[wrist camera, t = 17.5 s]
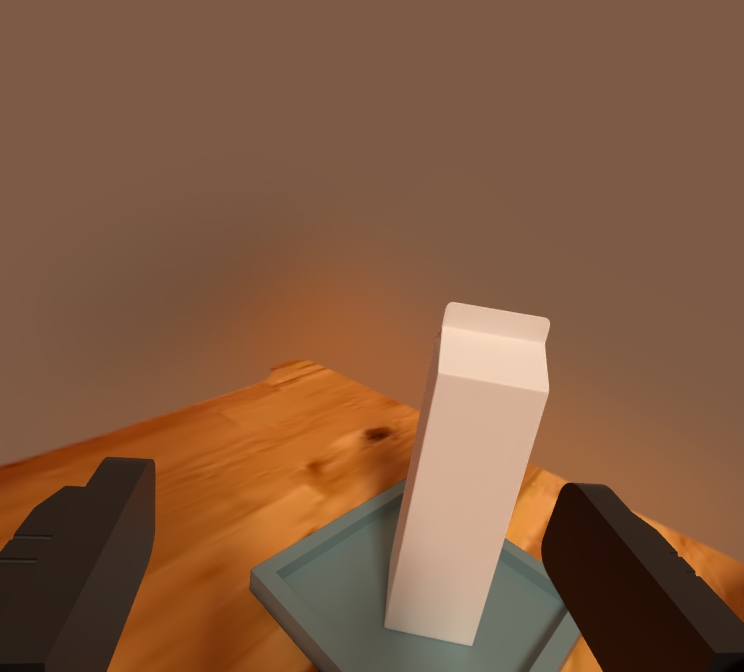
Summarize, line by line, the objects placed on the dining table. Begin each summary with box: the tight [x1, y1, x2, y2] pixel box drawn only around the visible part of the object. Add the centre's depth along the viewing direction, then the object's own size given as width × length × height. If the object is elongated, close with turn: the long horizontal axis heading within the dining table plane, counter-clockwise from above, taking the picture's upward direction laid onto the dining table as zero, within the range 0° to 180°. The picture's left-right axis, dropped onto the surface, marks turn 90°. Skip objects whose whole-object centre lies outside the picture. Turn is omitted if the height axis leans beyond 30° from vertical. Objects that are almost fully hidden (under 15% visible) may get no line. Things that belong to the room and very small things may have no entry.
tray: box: [249, 478, 582, 672], centre depth 34 cm, size 18×18×2 cm
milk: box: [384, 302, 550, 646], centre depth 30 cm, size 6×6×22 cm
